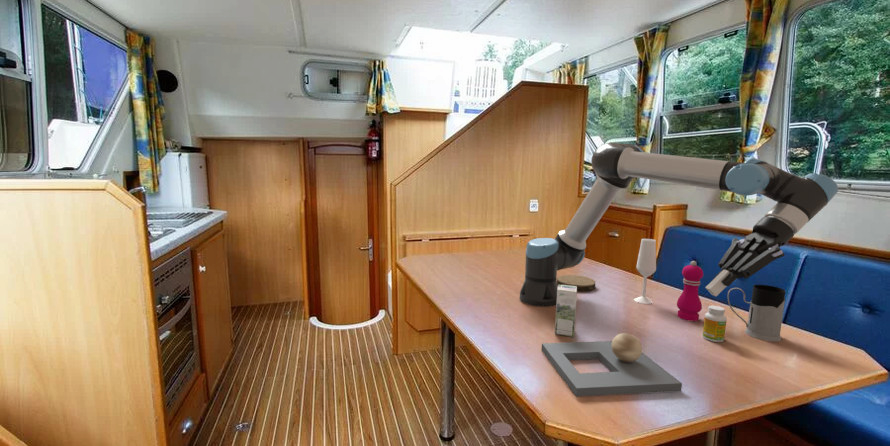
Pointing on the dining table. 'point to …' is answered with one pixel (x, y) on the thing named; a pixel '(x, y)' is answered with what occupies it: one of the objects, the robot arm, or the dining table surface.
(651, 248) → the champagne flute
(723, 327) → the supplement bottle
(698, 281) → the pepper mill
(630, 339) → the tan round lump
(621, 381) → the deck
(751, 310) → the glass holder
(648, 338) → the dining table surface
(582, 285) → the wood slice
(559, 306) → the syrup box
